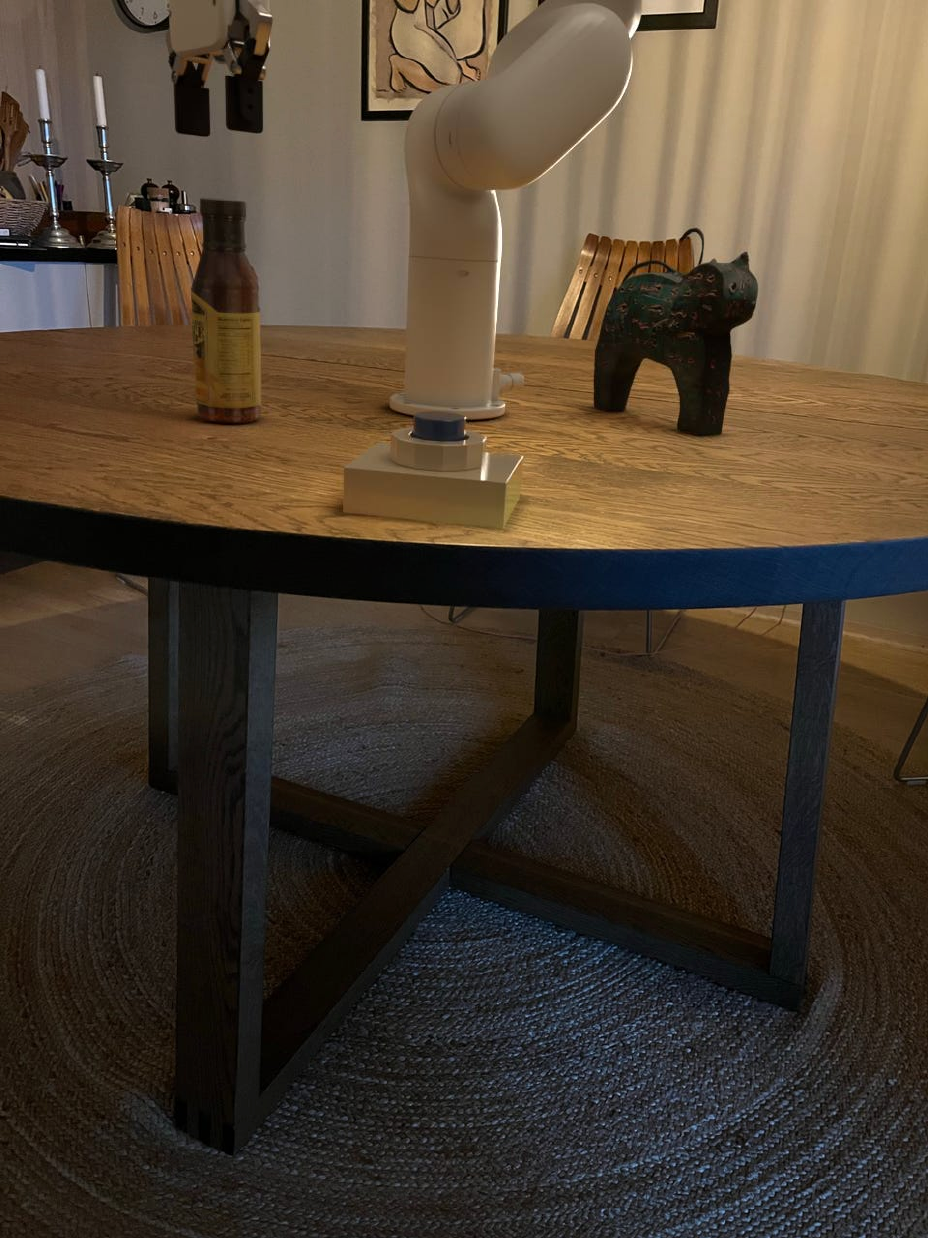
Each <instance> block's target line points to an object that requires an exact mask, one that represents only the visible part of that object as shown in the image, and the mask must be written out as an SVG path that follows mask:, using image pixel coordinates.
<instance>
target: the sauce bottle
mask: <svg viewBox="0 0 928 1238" xmlns="http://www.w3.org/2000/svg"><path fill="white" fill-rule="evenodd" d="M199 213H200V215H201V220H202V243H201V247H202V250H201V254H200V257H199V261H198V264H197V268H196V272H195V275H194V278H193V281H192V283H191V287H190V303H191V328H192V350H193V351H192V353H193V371H194V374H193V375H194V394H195V402H196V407H197V413H198V417H200V419H203V420H204V421H206V422H210V423H211V422H212V423H213V422H214V423H221V424H240V425H241V424H248V423H252V422H253V421H256V420H258V419H259V418H260V417H261V415H262V413H261V412H262V410H261V404H262V350H261V349H262V345H261V343H262V342H261V307H260V306H259V305H260V303H259V302H260V301H259V299H260V298H259V292H260V287H259V278H258V275H257V274H256V271H255V269H254V266H252V265H251V264H250V261H249V259H248V257H247V255H246V253H245V252H246V248H247V244H246V240H245V239H246V237H245V236H246V235H245V222H246V219H247V218H246V217H247V203H246V200H244V199H235V198H234V199H232V198H219V197H200V199H199Z"/></svg>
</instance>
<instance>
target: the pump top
mask: <svg viewBox="0 0 928 1238" xmlns="http://www.w3.org/2000/svg"><path fill="white" fill-rule="evenodd" d="M466 423H467V420H466V417H465V416H463V415H460V414H456V413H450V412H439V411H427V412H419V413H416V414H414V416H413V426H412V427H413V438H417V439H421V440H428V441H439V442H453V441H463V440H465V430H466V425H467V424H466Z"/></svg>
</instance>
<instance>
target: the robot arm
mask: <svg viewBox="0 0 928 1238" xmlns="http://www.w3.org/2000/svg"><path fill="white" fill-rule="evenodd" d="M642 11H643V0H544V1H543V2H542V3H541V4H539V5H538V6H537V7H535V9H534V10H533V11H531V12H530V13H529V14H528V15H527V16H525V17H524V18H523V19H522V20H520V21H519V22H518V23H516V24H515V25H514V26H513V27H512V28H510V30H509V31H508V32H507V33H505V35H504V36H503V37H502V39H501V40H500V41H499V43H498V44H497V45H496V47H495V49H494V51H493V53H492V55H491V56H490V59H489V62H488V68H487V74H486V75H487V77H486V79H481V80H471V81H466V82H460V83H455V84H449V85H445V86H442V87H439V88H437V89H435V90H433V91H431V92H429V93H428V94H427V95H425V96H424V97H423V98H422V99H421V100H420V101H418V103H417V105H416V106H415V107H414V109H413V110H412V112H411V114H410V116H409V118H408V121H407V124H406V127H405V133H404V141H403V142H404V143H403V146H404V147H403V148H404V149H403V152H404V164H405V172H406V173H405V174H406V182H407V189H408V202H409V247H408V263H407V264H408V265H407V293H406V294H407V295H406V296H407V297H406V325H405V351H404V352H405V355H404V385H403V392H398V393H394V394H392V395H390V397H389V408H390V409H391V410H393V411H395V412H397V413H401V414H405V415H408V416H413V417H414V414H416V413H419V412H427V411H439V412H450V413H456V414H460V415H463V416H465V417H466V421H467V420H468V421H469V420H474V421H475V420H489V419H493V418H498V417H501V416H503V415H505V413H506V403H505V402H504V401H502V400H501V399H500V398H499V397H500V395H501V394H502V393H503V392H504V391H505V392H517V391H521V390H524V387H525V383H526V381H525V377H524V376H523V373H519V372H514V373H513V372H512V373H506V374H503V373H502V371H501V369H500V368H495V367H494V364H495V350H496V335H497V334H496V333H497V321H498V320H497V319H498V305H499V304H498V303H499V289H500V288H499V287H500V276H501V261H502V249H503V248H502V246H503V244H502V243H503V238H502V237H503V236H502V235H503V231H502V230H503V229H502V220H501V213H500V209H499V204H498V199H497V194H496V191H512V190H517V189H520V188H523V187H526V186H528V185H530V184H532V183H534V182H536V181H537V180H538V179H540V178H541V177H542V176H543V175H545V174H546V173H547V172H548V171H550V170H551V169H552V168H553V167H554V166H556V165H557V164H558V162H560V161H561V160H562V159H563V158H564V157H565V156H566V155H567V154H569V152H571V151H572V150H573V149H574V148H575V147H576V146H577V145H578V144H579V143H580V142H582V140H584V139H585V138H586V137H587V136H588V135H589V134H590V133H591V132H592V131H593V130H595V128H596V127H597V126H599V124H600V123H601V122H603V120H604V119H605V118H606V117H607V116H609V115H610V114H611V112H612V111H613V110H614V109H615V108H616V107H617V105H618V104H619V102H620V101H621V99H622V97H623V95H624V93H625V91H626V89H627V87H628V85H629V80H630V79H631V75H632V69H633V58H634V57H633V56H634V54H633V53H634V52H633V44H632V40H631V38H632V37H633V35H634V34H635V32H636V31H637V29H638V27H639V24H640V22H641V17H642ZM273 17H274V16H273V14H272V12H271V11H270V0H168V21H169V22H168V23H169V27H168V29H167V31H166V33H165V43H166V47H167V51H168V60H167V61H168V65H169V67H170V69H171V73H170V79H171V83H172V84H173V108H174V109H173V110H174V131H175V132H176V133H177V134H178V135H186V136H195V137H203V138H207V137H210V135H211V107H210V106H211V104H210V88H208V87H205V85H206V82H207V79H208V76H209V72H210V69H211V65H212V63H213V60H214V62H215V63H216V64H217V65H223V66H224V65H227V66H226V67H227V69H228V70H229V74H230V75H228V74H227V75H224V85H225V86H224V93H225V96H224V97H225V126H226V129H227V130H229V131H233V132H242V133H249V134H262V133H263V131H264V80H265V79H266V75H267V68H266V65H265V63H266V61H267V58H268V55H269V53H270V51H271V50H270V47H271V32H272V27H273V22H274V19H273ZM194 63H195V64H197V65H196V67H195V64H194Z"/></svg>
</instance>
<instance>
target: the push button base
mask: <svg viewBox="0 0 928 1238" xmlns="http://www.w3.org/2000/svg"><path fill="white" fill-rule="evenodd" d="M389 440H390V441H389V443H388V442H377V443H376V444H374V445H373V446H372V447H370V448H369V449H367V450H365V452H362V453H361V454H360V455H359V456H357V457H356V458H355V459H353V460H352V461H350V462H349V463H347V464H346V465H345V466H343V493H342V494H343V496H342V497H343V498H342V499H343V500H342V501H343V503H342V505H343V506H342V507H343V508H342V512H343V513H344V514H355V515H365V516H373V517H383V518H393V519H402V520H411V521H412V520H413V521H423V522H432V523H442V524H449V525H450V524H451V525H459V526H470V527H480V528H490V529H499V530H504V528H505V526H506V524H507V522H508V521H509V519H510V517H511V515H512V514H513V512H514V510H515V508H516V506H517V504H518V502H519V500H520V499H521V491H522V479H523V478H522V477H523V465H524V455H517V454H507V453H497V452H487V444H488V443H487V442H488V437H486V436H485V435H483V434H482V433H479V432H477V431H473V430H467V429H465V440H463V441H453V442H439V441H428V440H421V439H417V438H413V426H409V427H403V428H398V429H395V430H393V431H392V432H391V433H390V439H389Z"/></svg>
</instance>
